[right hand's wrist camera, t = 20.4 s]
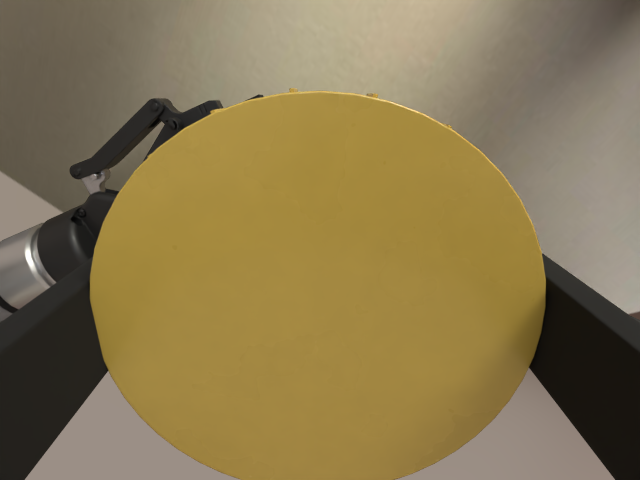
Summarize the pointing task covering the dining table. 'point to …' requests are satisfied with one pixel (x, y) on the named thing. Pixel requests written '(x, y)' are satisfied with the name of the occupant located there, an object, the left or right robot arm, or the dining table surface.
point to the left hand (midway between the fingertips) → (290, 162)
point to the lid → (317, 289)
